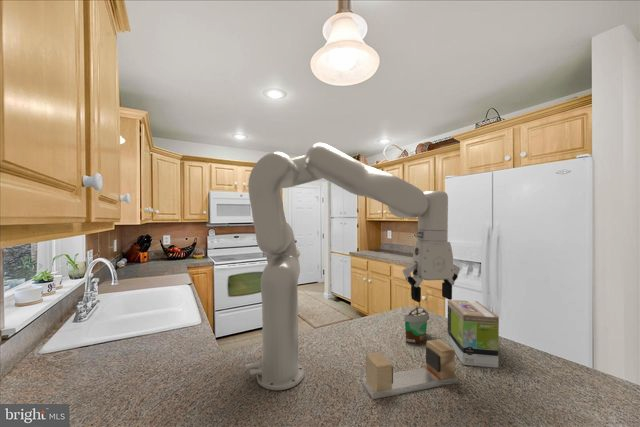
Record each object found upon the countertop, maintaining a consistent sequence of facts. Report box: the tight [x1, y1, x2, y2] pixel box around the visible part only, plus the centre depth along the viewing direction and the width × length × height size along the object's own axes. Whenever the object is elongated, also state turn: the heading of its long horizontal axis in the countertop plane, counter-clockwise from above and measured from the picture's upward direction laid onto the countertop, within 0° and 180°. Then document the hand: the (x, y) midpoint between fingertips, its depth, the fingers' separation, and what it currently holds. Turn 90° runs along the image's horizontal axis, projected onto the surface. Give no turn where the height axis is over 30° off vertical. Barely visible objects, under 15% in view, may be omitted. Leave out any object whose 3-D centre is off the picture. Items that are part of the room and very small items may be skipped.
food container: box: [404, 305, 430, 345], centre depth 94 cm, size 12×6×10 cm, turn 143°
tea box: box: [446, 299, 500, 369], centre depth 85 cm, size 15×10×15 cm, turn 171°
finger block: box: [425, 338, 456, 379], centre depth 73 cm, size 5×6×7 cm
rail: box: [361, 352, 458, 400], centre depth 70 cm, size 24×6×8 cm, turn 105°
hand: (431, 299), depth 74 cm, fingers open, 9 cm apart
